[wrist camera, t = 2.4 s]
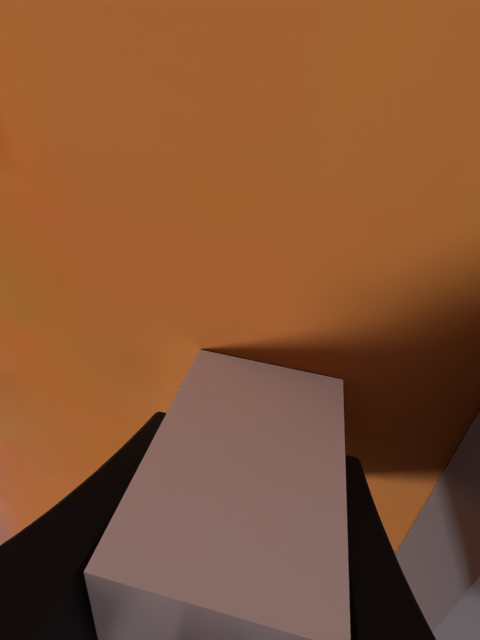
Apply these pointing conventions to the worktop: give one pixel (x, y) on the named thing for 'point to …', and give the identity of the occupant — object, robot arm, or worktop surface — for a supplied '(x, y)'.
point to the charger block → (232, 514)
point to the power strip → (449, 547)
